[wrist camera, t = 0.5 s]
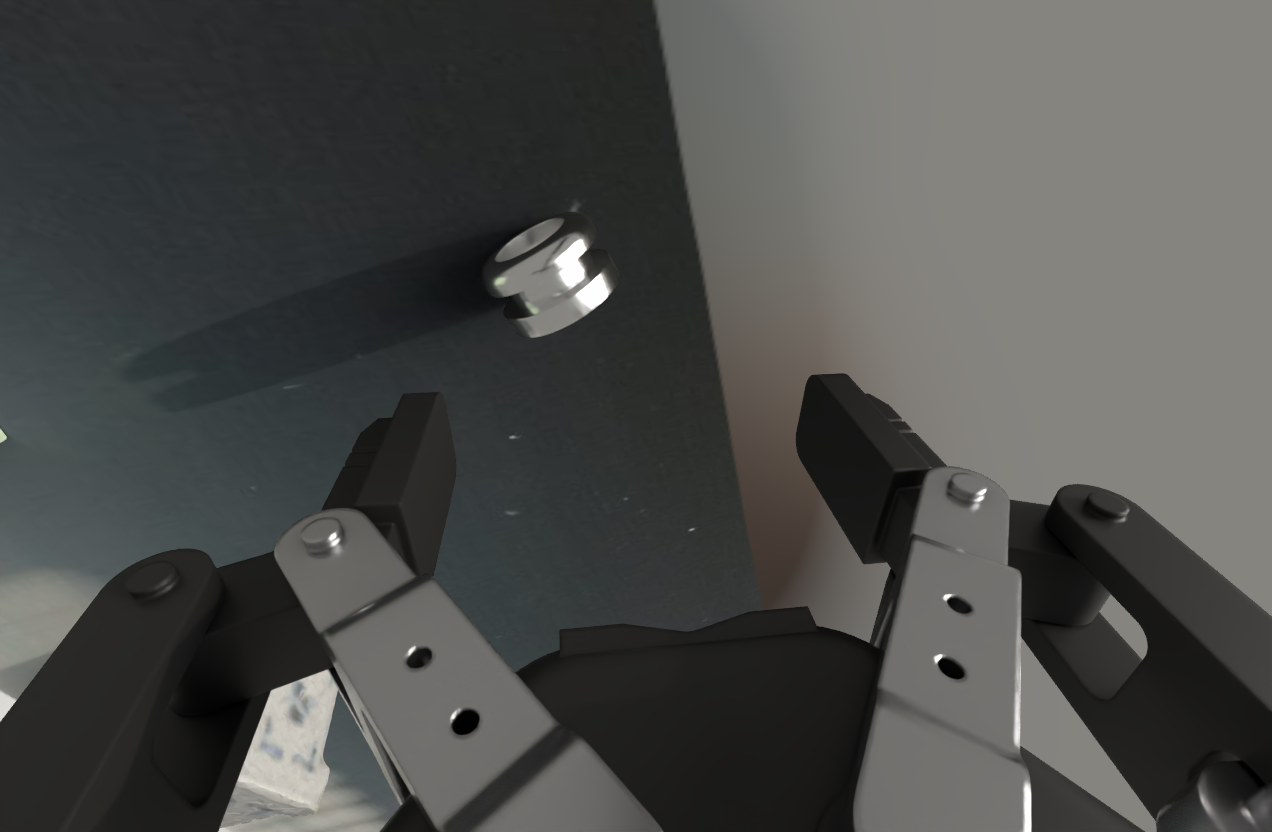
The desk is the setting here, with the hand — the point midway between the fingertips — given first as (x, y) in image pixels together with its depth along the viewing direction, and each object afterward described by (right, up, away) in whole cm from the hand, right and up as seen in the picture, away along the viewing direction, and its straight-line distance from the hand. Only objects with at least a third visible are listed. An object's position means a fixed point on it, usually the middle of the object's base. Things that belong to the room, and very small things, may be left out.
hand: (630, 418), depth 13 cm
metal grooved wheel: (-4, +7, +13) cm, 15 cm away
